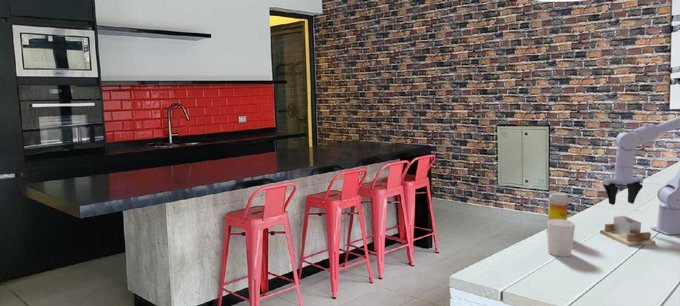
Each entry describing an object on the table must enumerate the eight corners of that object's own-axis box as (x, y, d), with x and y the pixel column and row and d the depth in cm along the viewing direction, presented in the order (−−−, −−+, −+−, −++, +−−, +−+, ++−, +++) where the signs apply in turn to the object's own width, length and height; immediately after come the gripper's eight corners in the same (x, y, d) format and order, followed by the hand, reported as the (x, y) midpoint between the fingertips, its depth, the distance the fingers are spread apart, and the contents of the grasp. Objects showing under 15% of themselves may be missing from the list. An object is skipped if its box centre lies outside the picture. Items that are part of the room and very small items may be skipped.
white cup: (571, 250, 169) (573, 220, 167) (574, 258, 161) (576, 227, 160) (545, 247, 171) (547, 218, 169) (546, 256, 164) (548, 224, 162)
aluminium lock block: (623, 231, 185) (624, 216, 184) (639, 238, 177) (641, 222, 176) (612, 231, 184) (614, 216, 183) (629, 239, 176) (630, 223, 175)
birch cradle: (625, 231, 188) (625, 221, 187) (654, 243, 174) (655, 233, 174) (599, 232, 186) (600, 223, 186) (628, 245, 173) (628, 235, 172)
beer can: (567, 239, 180) (570, 196, 177) (548, 238, 181) (550, 195, 179) (563, 233, 186) (566, 192, 183) (545, 232, 187) (547, 191, 184)
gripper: (634, 163, 192) (631, 199, 195) (598, 165, 190) (595, 201, 192) (648, 167, 186) (645, 204, 188) (612, 168, 183) (609, 206, 185)
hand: (621, 203), depth 189 cm, fingers open, 7 cm apart
